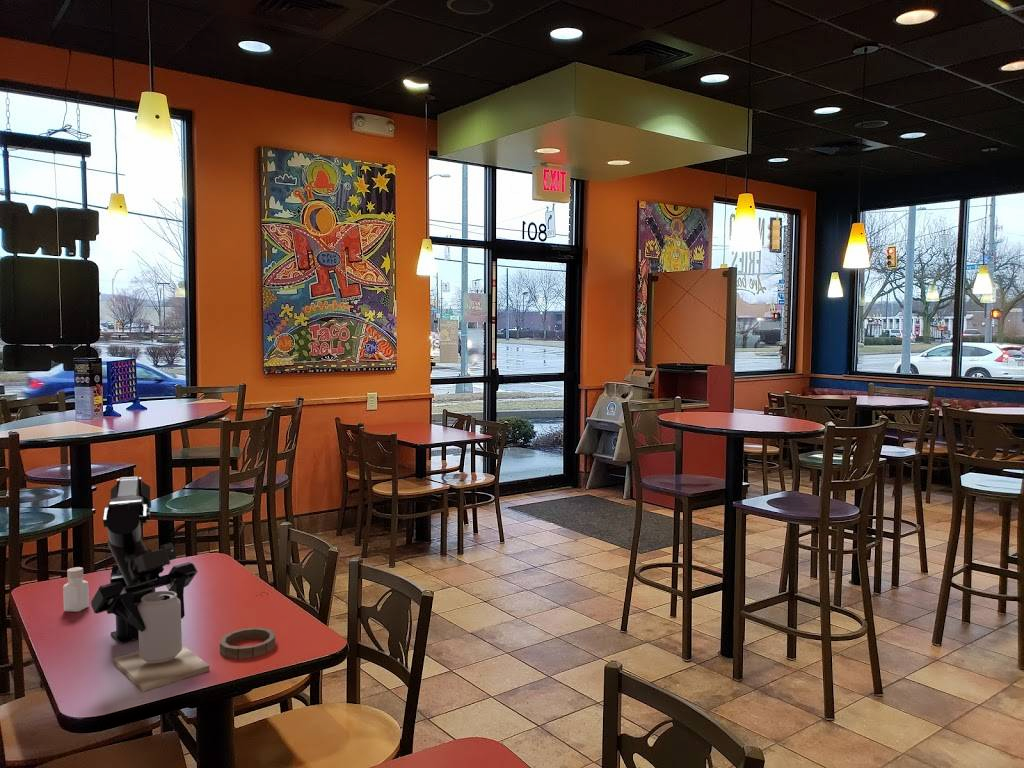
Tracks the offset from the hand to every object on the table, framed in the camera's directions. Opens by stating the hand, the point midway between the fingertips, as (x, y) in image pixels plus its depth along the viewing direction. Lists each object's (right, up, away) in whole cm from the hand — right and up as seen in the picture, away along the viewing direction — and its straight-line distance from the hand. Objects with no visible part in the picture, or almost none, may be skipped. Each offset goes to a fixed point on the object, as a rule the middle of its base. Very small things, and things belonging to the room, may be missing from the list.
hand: (163, 623), depth 143 cm
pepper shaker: (-35, -7, +31) cm, 47 cm away
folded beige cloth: (-1, -9, +1) cm, 9 cm away
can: (-1, -7, +1) cm, 7 cm away
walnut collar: (+12, -8, +10) cm, 18 cm away
